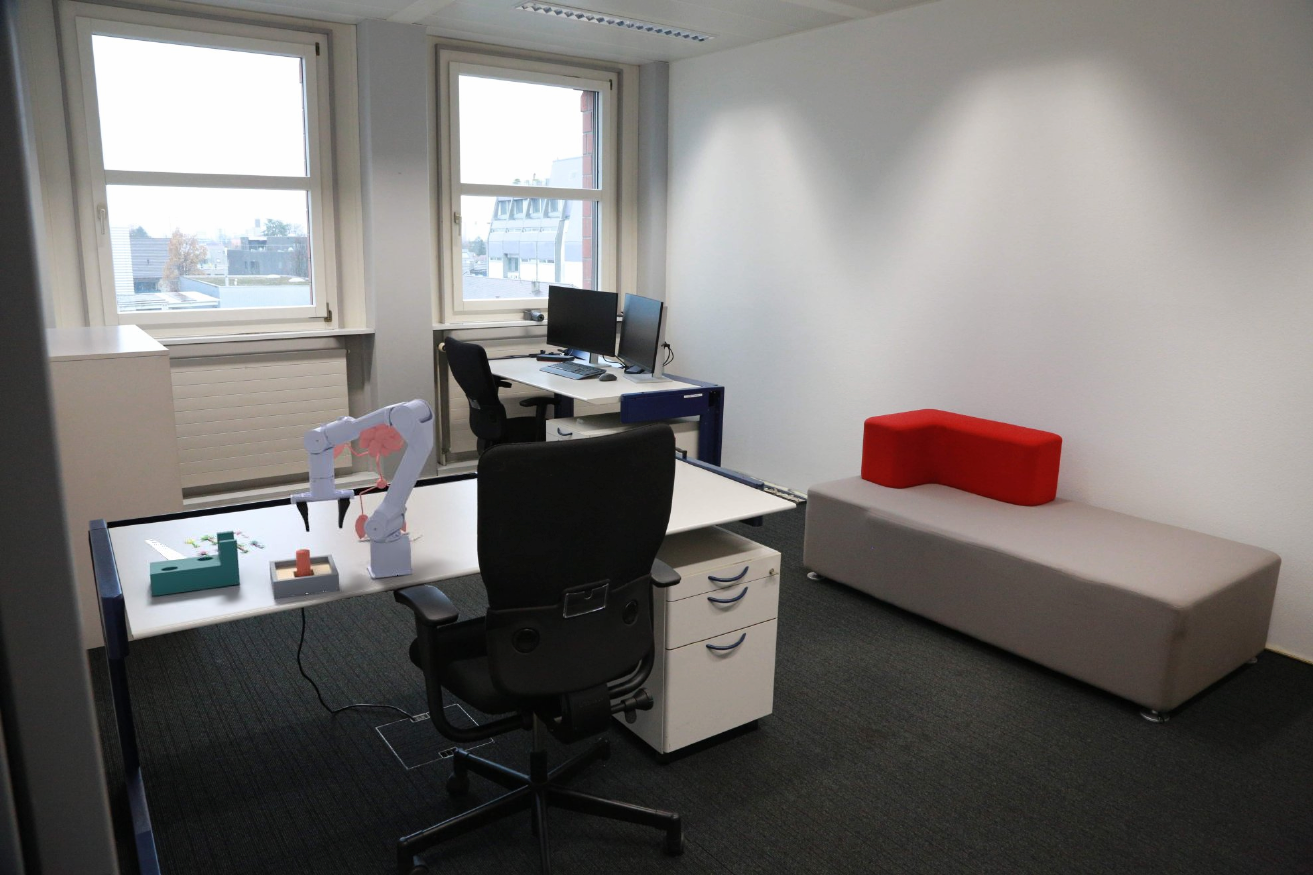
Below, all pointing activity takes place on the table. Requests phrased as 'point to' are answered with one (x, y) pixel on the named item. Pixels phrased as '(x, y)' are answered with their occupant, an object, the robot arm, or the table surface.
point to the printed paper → (174, 555)
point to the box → (290, 584)
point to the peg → (303, 563)
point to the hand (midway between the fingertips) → (324, 528)
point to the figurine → (377, 442)
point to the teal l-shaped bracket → (198, 569)
